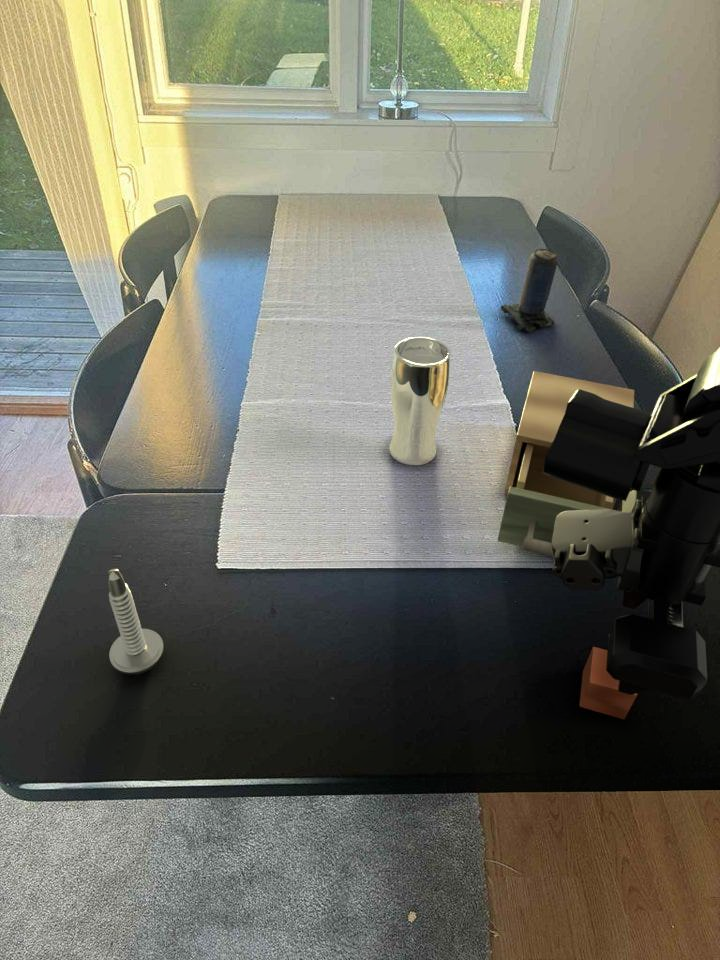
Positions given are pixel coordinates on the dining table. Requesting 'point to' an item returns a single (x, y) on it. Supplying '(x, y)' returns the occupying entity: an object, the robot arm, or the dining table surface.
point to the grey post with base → (535, 291)
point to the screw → (131, 632)
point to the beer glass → (418, 397)
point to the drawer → (542, 504)
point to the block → (603, 688)
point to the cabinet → (553, 413)
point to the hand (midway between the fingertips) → (626, 646)
